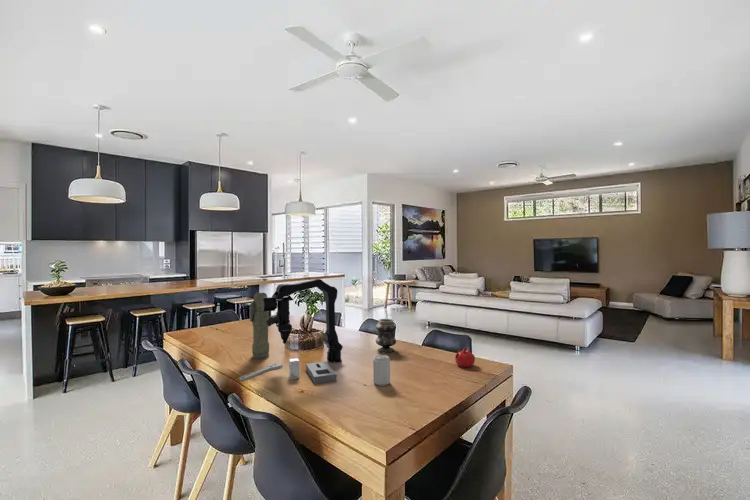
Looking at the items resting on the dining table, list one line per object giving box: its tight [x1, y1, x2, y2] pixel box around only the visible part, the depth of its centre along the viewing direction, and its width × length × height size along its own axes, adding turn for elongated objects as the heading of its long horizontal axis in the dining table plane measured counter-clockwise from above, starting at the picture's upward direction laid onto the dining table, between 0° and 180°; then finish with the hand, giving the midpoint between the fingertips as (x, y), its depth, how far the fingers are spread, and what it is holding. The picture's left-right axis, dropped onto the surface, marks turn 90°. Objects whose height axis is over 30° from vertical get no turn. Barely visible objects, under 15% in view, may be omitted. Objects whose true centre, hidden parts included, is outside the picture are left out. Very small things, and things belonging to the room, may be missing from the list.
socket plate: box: [305, 361, 338, 385], centre depth 177 cm, size 10×20×3 cm, turn 21°
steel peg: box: [288, 357, 300, 380], centre depth 174 cm, size 4×4×8 cm
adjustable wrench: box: [239, 362, 283, 382], centre depth 181 cm, size 25×6×2 cm, turn 146°
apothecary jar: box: [375, 318, 397, 353], centre depth 219 cm, size 12×12×18 cm
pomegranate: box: [454, 347, 476, 368], centre depth 191 cm, size 10×10×9 cm
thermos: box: [249, 292, 272, 360], centre depth 207 cm, size 9×12×35 cm
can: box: [372, 354, 391, 387], centre depth 166 cm, size 8×8×12 cm
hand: (283, 341), depth 185 cm, fingers open, 9 cm apart
